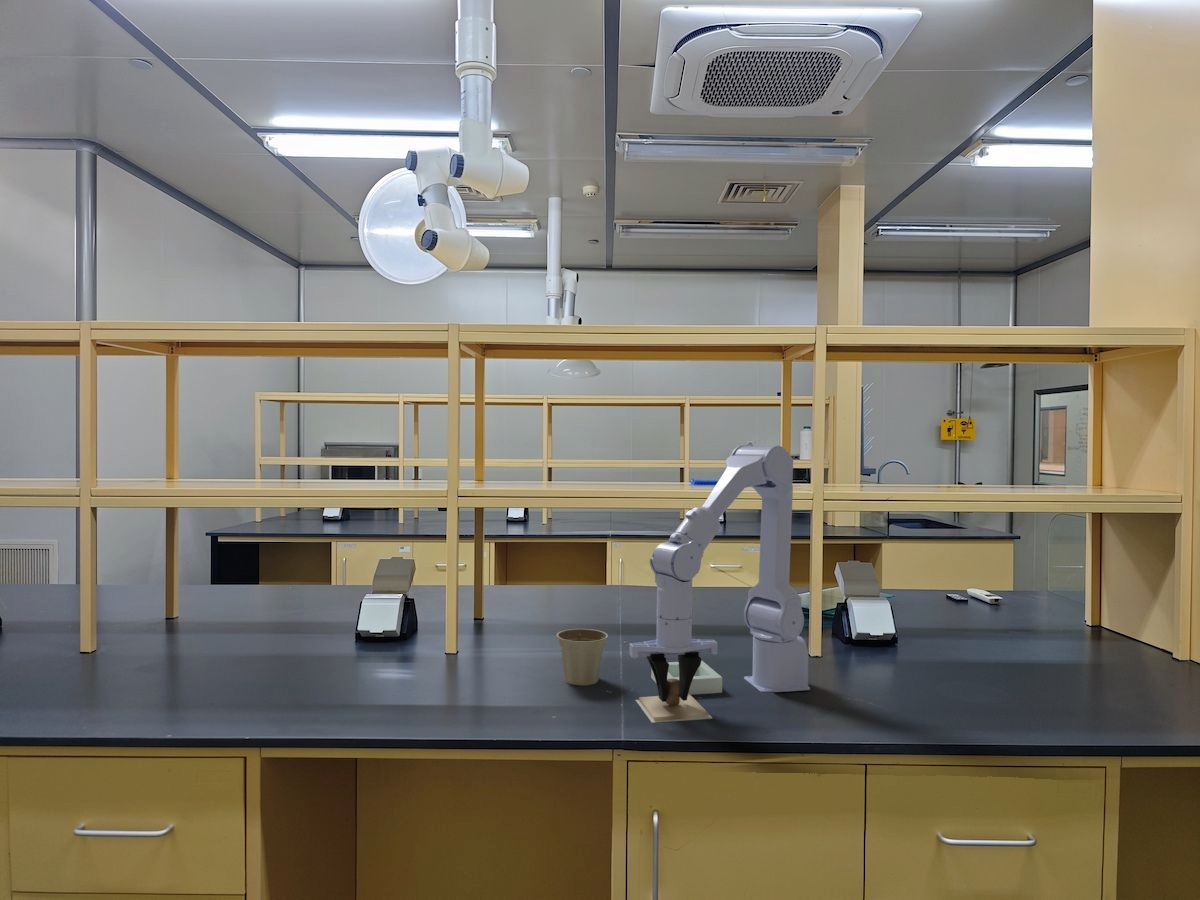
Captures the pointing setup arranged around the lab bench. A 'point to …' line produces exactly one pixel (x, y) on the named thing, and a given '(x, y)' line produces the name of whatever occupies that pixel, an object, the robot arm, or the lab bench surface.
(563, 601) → the lab bench surface
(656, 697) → the lid
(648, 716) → the mat
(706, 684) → the dish
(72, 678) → the lab bench surface
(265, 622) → the lab bench surface
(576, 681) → the flower pot
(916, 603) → the lab bench surface
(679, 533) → the robot arm
